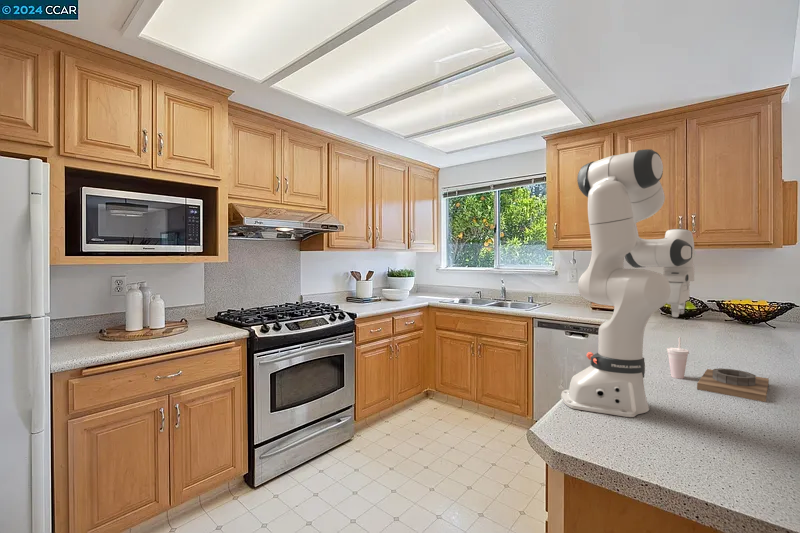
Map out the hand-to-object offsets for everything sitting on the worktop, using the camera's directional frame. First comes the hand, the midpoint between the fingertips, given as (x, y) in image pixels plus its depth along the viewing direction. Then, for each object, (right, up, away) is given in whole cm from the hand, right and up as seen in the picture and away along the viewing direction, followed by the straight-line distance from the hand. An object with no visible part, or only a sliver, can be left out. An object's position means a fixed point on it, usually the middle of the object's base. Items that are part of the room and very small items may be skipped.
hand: (678, 315), depth 136 cm
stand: (+11, -22, -10) cm, 26 cm away
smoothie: (0, -22, 0) cm, 22 cm away
